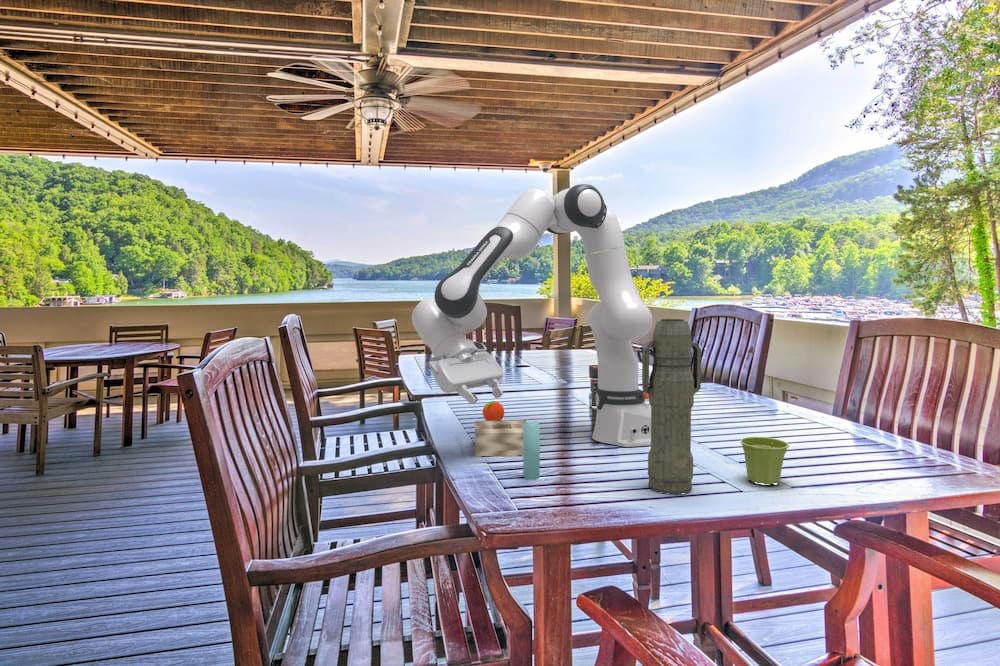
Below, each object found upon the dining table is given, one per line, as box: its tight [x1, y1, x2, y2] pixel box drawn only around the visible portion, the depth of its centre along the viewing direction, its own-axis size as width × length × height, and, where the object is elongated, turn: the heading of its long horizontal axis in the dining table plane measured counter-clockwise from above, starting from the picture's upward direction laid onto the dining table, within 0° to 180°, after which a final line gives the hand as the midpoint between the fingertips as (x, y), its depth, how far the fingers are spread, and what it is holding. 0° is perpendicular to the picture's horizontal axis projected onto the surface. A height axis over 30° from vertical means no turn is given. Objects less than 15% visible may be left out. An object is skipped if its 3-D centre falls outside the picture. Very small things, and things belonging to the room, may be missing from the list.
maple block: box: [474, 419, 527, 458], centre depth 148 cm, size 14×14×6 cm
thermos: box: [641, 318, 702, 495], centre depth 116 cm, size 9×12×35 cm
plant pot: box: [739, 436, 790, 484], centre depth 120 cm, size 9×9×9 cm
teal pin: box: [522, 421, 541, 480], centre depth 124 cm, size 4×4×12 cm
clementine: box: [482, 400, 505, 421], centre depth 179 cm, size 8×7×7 cm
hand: (487, 399), depth 131 cm, fingers open, 8 cm apart
